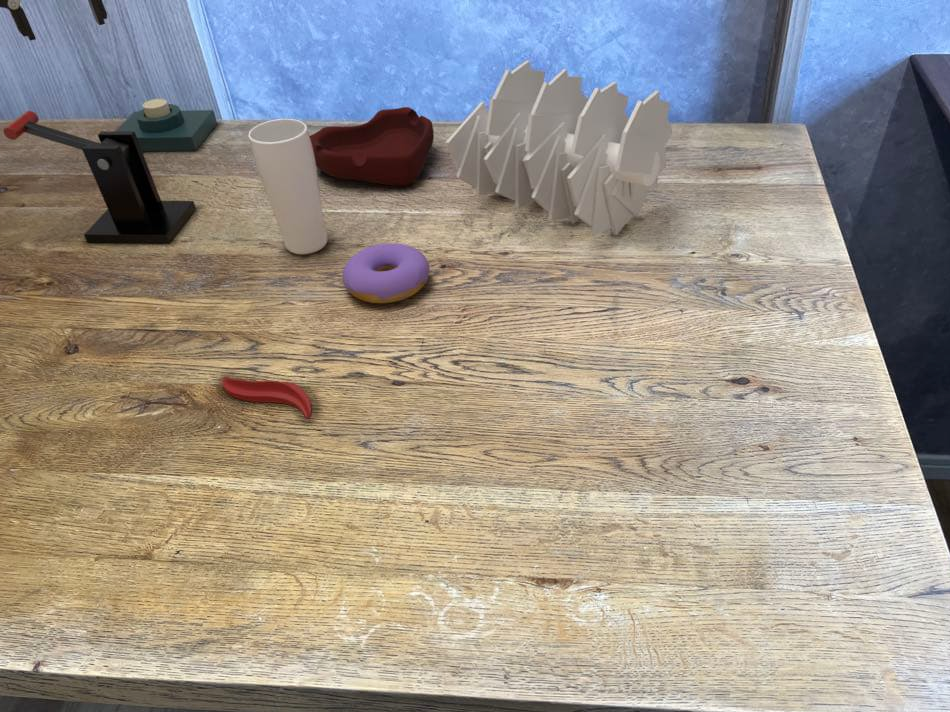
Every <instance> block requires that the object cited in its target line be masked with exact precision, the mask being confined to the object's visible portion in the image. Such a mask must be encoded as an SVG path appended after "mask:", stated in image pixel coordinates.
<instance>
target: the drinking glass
mask: <svg viewBox="0 0 950 712" xmlns="http://www.w3.org/2000/svg"><path fill="white" fill-rule="evenodd" d="M247 137H248V141H249V146H250V150H251V154H252V158H253V161H254V165H255V167H256V171H257V174H258V176H259V179H260V182H261V184H262V187H263V189H264V192H265V195H266V197H267V200H268V202H269V204H270V208H271V211H272V213H273V216H274V219H275V221H276V223H277V226H278V228H279V229H278V230H279V231H280V234H281V238H282V241H283V244H284V247H285V249H286V250H287V251H288V252H290V253H292V254H295V255H310V254H313V253H317V252H318V251H320V250H322V249H323V248H325V246H326V245H327V243H328V239H329V238H328V232H327V229H326V223H325V217H324V209H323V203H322V197H321V189H320V182H319V176H318V174H319V173H318V169H317V168H318V167H317V166H316V161H315V155H314V151H313V147H312V143H311V139H310V132H309V128H308V125H307V124H306V122H303V121H302V120H298V119H293V118H278V119H271V120H267V121H264V122H261V123H259V124H256V125H255V126H254V127H252V128H251V129H250V130H249V132H248V135H247Z"/></svg>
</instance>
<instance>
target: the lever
mask: <svg viewBox="0 0 950 712" xmlns="http://www.w3.org/2000/svg"><path fill="white" fill-rule="evenodd" d="M38 122H39V116H38V114H37V113H35V112H34V111H32V110H27V111H25V112H24V113H23V114H21V115H20V116H19V117H17V118H16V119H14V120H13V121H12V122H10V124H8V125H7V126H6V127H4V128H3V134H4V136H5V137H6V138H7V139H9V140H11V141H16V140H17V139H19V138H20V137H21V136H22V135H23V134H25V133H26V134H29V135H32V136H35V137H40V138H42V139H44V140H45V139H46V140H48V141H51V142H55V143H59V144H61V145H64V146H68V147H72V148H74V149H77V150H81V151H83V150H82V149H83V148H84V147H85V146H120V147H121V149H122V152H123V154H124V157H125V159H126V162H127V164H128V163H129V162H130V155H129V145H128V144H124V143H121V142H118V141H115V140H111V139H108V138H106V139H105V140H104V141H103V142H102V143H101V142H97V141H95V140H94V141H93V140H91V139H87V138H83V137H80V136H77V135H74V134H72V133H71V134H70V133H68V132H64V131H62V130H58V129H55V128H51V127H49V126H45V125H43V124H38Z"/></svg>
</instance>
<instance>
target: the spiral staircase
mask: <svg viewBox="0 0 950 712" xmlns="http://www.w3.org/2000/svg"><path fill="white" fill-rule="evenodd" d="M545 78H546V71H544V70H540V69H536V68H535V69H534V68H531V62H530V60H525V61H524V62H523V63H521V64H520V65H518V66H517V67H515V68H514V69H513V70H512V71H511V70H510V69H505V71H504V73H503V75H502V78H501V79H500V81H499V82H498V85H497V87H496V89H495V92H494V93H493V95H492V97H491V98H489V102H488V103H489V104H488V109H487V106H486V103H485V101H480V103H478V105H476V107H475V108H474V109H473V110H472V111H471V113H470V114H469V115H468V116H467V117H466V118H465V119H464V120H463V122H462V123H461V124H460V125H459V126H458V127H457V129H456V130H455V131H454V132H453V133H452V134H451V135H450V136H449V137H448V139H446V141H445V143H444V144H445V145H446V147H447V150H448V153H449V155H450V158H451V161H452V162H453V165H454V168H455V169H458V170H457V173H456V176H455V177H456V178H457V179H459V180H461V181H462V182H464V183H466V184H467V185H469V186H470V187H472V188H475V196H476V197H479V198H480V197H482V196H486V195H489V194H492V193H497V194H499V195H500V196H501V197H505V198H507V199H510V200H512V201H514V209H516V210H520V209H522V208H524V207H526V206H529V205H531V204H533V203H537V204H538V206H540V207H541V209H543V210H544V211H545V212H548V218H547V220H548V221H549V222H553V221H558V220H564V219H568V218H569V220H570V224H573V225H575V224H576V222H577V221H578V220H581V222H583V223H585V224H586V225H587V226H589V227H591V230H590V231H591V232H590V235H591V236H593V237H595V236H597V235H600V234H602V233H605V232H607V231H610V230H612V233H613V235H615V236H617V235H618V234H619V233H620V232H621V231H622V229H623V228H624V226H626V224H627V222H628V221H629V220H630V218H631V217H632V216H634V217H635V218H639V216H640V214H641V211H642V208H643V205H644V203H645V200H646V197H647V195H648V192H649V191H650V190H653V189H655V188H657V186H658V181H659V175H660V174H661V173H662V172H663V171H664V170H665V169H667V144H668V142H669V140H670V138H671V137H672V134H673V132H674V131H673V128H672V126H671V123H670V121H669V118H668V116H669V112H670V107H671V102H669V101H665V100H663V99H660V91H659V90H654V91H653V92H652V93H651V94H650V95H649V96H647V98H644V100H637V102H636V104H635V107H634V108H633V110H632V113H631V114H630V117H628V115H627V112H626V109H627V106H628V102H629V96H628V95H626V94H624V93H621V92H620V91H618V82H617V81H612V82H611V83H609V84H608V85H606V86H604V87H603V88H601V89H600V88H599V87H594V90H593V91H592V93H591V95H590V96H589V98H587V97H586V95H585V94H584V93H583V91H582V85H583V84H582V83H583V76H576V75H575V76H573V75H568V69H567V68H566V69H565V68H563V69H562V70H561V71H559V72H558V73H557V74H556V75H555V76H554V77H553V78H552V79H551V80H550V81H549V82H546V81H545Z"/></svg>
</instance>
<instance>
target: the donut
mask: <svg viewBox="0 0 950 712" xmlns="http://www.w3.org/2000/svg"><path fill="white" fill-rule="evenodd" d="M429 274H430V263H429V261H428V259H427V257H426V256H425V255H424V254H423V253H422V252H421V251H420V250H418V249H417V248H414V247H413V246H410V245H407V244H403V243H391V242H389V243H379V244H375V245H372V246H369V247H366V248H363V249H361V250H359V251H358V252H356V253H355V254H353V255H352V256H351V257H350V258H349V259H348V260H347V262H346V264H345V265H344V267H343V270H342V283H343V286H344V287H345V289H346V290H347V291H348V292H349V293H350V294H351V295H352V296H353V297H355V298H357V299H358V300H360V301H363V302H367V303H371V304H389V303H395V302H396V303H397V302H399V301H403V300H405V299H408V298H410V297H412V296H413V295H415V294H416V293H418V292H419V291H420V290H421V289H422V288H423V287H424V286H425V285H426V283H427V282H428V280H429Z"/></svg>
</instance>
